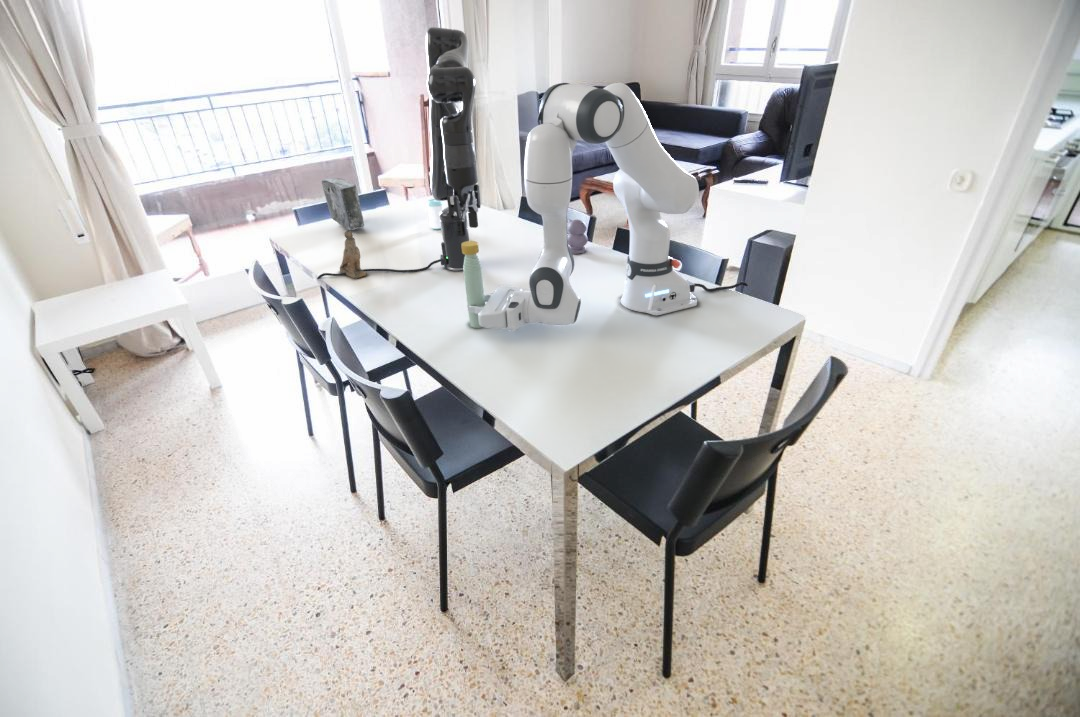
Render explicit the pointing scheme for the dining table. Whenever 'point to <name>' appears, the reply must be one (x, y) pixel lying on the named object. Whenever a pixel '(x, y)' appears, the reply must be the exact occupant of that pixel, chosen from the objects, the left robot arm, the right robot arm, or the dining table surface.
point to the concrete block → (343, 202)
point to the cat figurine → (577, 236)
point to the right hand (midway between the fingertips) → (473, 303)
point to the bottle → (473, 286)
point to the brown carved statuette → (351, 258)
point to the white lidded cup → (435, 213)
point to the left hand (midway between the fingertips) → (468, 231)
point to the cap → (470, 247)
